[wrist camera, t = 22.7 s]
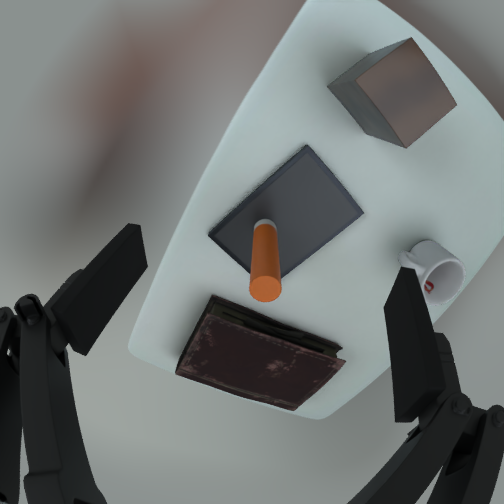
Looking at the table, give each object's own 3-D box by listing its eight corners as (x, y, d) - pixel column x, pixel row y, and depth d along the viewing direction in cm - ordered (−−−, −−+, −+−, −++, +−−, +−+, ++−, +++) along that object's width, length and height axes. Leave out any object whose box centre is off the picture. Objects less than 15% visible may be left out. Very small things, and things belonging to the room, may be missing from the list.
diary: (290, 395, 59) (291, 414, 55) (178, 358, 55) (173, 377, 50) (344, 340, 51) (349, 361, 47) (214, 289, 47) (209, 309, 42)
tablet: (208, 232, 42) (207, 235, 41) (307, 144, 36) (308, 145, 35) (266, 285, 46) (266, 289, 45) (362, 210, 40) (364, 213, 39)
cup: (378, 265, 44) (395, 296, 37) (401, 220, 40) (425, 245, 33) (427, 282, 45) (447, 310, 38) (449, 242, 41) (474, 267, 34)
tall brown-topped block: (326, 86, 32) (354, 79, 22) (370, 52, 30) (411, 36, 19) (366, 134, 35) (406, 149, 24) (407, 100, 32) (457, 104, 21)
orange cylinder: (249, 228, 41) (242, 288, 28) (265, 214, 39) (266, 269, 27) (264, 243, 41) (264, 307, 29) (281, 229, 40) (288, 290, 28)
